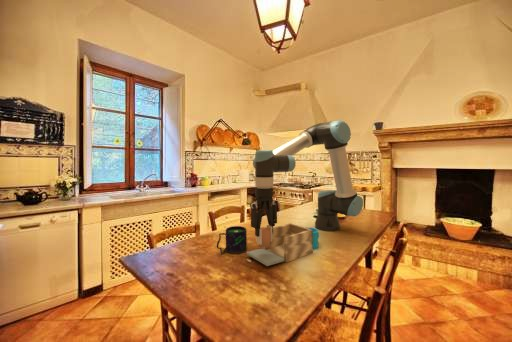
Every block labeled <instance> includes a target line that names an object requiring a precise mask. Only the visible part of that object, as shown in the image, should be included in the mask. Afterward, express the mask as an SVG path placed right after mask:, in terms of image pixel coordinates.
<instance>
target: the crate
mask: <svg viewBox="0 0 512 342" xmlns="http://www.w3.org/2000/svg"><path fill="white" fill-rule="evenodd" d="M308 228H309V227H304V226H300V225H297V224H294V223H287V224H283V225H279V226H273V233H272V242H270V247H267V248H264V249H266V250H268V251H270V252H273V253H275V254H277V255H279V256H281V257H283V258H285V261H283V262H284V263H289V262H292V261H294V260H297V259H300V258H301V257H305V256H307V255H310V254H312V253H314V252H313V251H314V249H313V230H311V229H308Z"/></svg>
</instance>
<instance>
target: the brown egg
mask: <svg viewBox="0 0 512 342" xmlns="http://www.w3.org/2000/svg"><path fill="white" fill-rule="evenodd" d="M260 228H261V229H262V244H261V245H260V244H258V247H260V248H264V249H265V248H267V247H270V228H267V226H266V227H265V226H263V227H260Z"/></svg>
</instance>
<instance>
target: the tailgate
mask: <svg viewBox="0 0 512 342" xmlns="http://www.w3.org/2000/svg"><path fill="white" fill-rule="evenodd" d="M246 255H247V256H249V257H250V258H253V259H254V260H255V261H257V262H259V263H261V264H263V265H264V266H266V267H269V266H272V265H276V264H279V263H283V262H284V261H285V258H283V257H281V256H279V255H277V254H275V253H273V252H270V251H268V250H266V249H265V248H263V247H261V248H259V249H258V248H257V249H255V250H254V249H253V250H250V251H246Z"/></svg>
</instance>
